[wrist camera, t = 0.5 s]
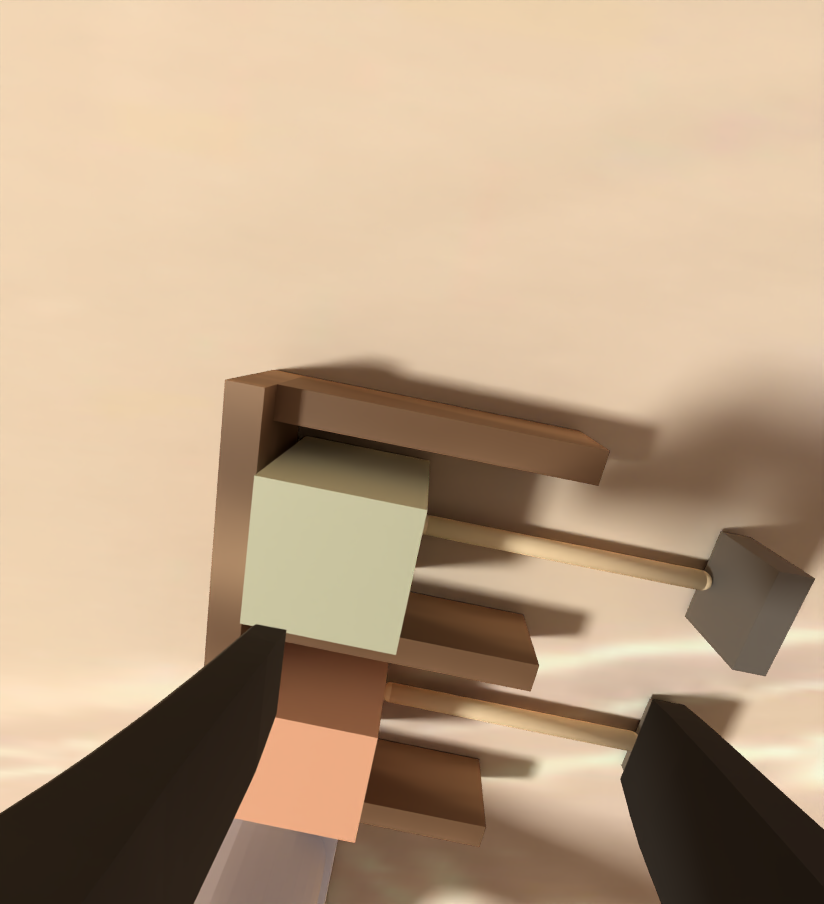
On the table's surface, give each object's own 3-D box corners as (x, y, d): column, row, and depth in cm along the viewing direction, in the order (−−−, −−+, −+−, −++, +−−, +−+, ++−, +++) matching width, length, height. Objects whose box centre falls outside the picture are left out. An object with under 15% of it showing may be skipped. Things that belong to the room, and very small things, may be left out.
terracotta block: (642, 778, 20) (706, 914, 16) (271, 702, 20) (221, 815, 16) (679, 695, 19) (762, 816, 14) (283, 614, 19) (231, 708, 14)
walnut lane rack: (473, 777, 21) (481, 875, 17) (237, 729, 21) (193, 816, 17) (579, 430, 16) (623, 459, 13) (274, 369, 16) (224, 379, 13)
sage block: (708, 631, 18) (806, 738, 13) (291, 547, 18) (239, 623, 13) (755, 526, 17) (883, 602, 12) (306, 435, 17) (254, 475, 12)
